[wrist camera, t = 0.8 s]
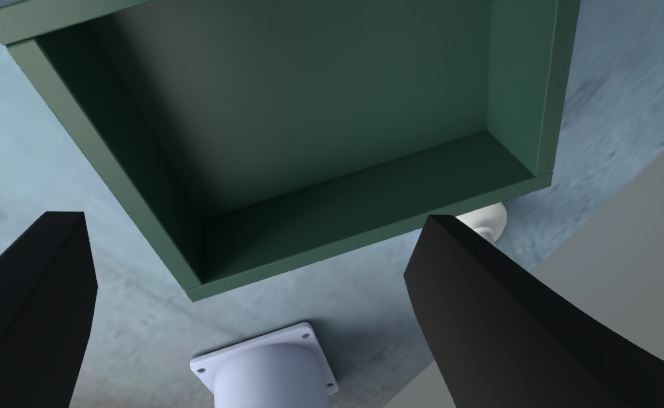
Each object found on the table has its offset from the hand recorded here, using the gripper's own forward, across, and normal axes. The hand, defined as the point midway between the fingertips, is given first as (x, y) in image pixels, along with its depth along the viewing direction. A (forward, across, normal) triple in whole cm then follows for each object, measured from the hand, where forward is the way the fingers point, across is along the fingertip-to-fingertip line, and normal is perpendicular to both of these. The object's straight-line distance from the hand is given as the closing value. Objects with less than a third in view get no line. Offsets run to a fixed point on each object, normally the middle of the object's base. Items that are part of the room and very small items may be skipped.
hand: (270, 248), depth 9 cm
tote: (+10, -3, 0) cm, 10 cm away
